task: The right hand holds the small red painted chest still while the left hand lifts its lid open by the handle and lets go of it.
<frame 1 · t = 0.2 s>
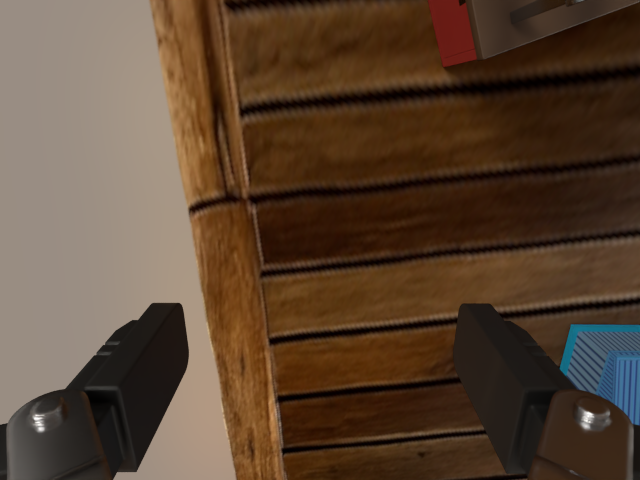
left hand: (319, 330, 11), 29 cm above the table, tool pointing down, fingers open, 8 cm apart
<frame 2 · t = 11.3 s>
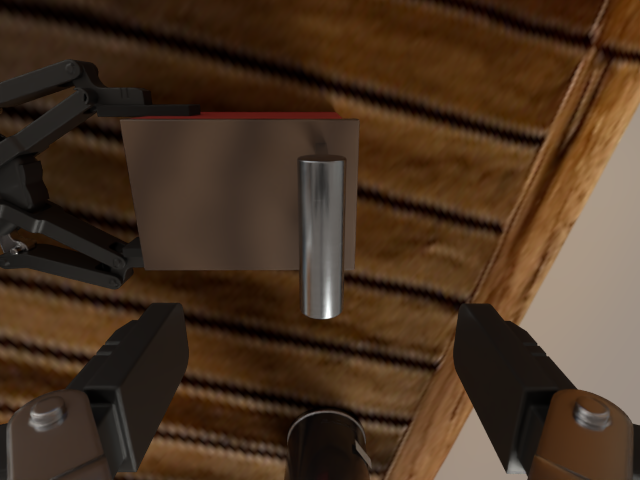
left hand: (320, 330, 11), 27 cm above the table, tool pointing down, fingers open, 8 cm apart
right hand: (202, 182, 31), fingers closed on chest, 10 cm apart
lid: (233, 216, 22), point 16 cm above the table, hinge at 0.0°
chest: (262, 168, 37), on the table, touching right hand
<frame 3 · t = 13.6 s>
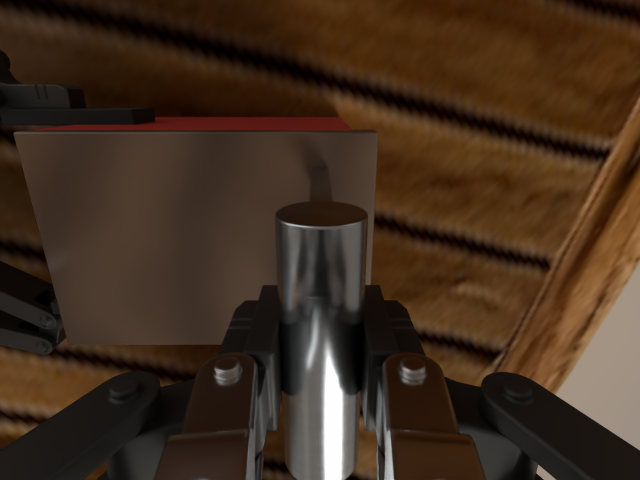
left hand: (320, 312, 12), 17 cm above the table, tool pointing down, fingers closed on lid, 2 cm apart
lid: (180, 286, 14), point 16 cm above the table, hinge at -0.1°, touching left hand
chest: (244, 189, 29), on the table, touching right hand
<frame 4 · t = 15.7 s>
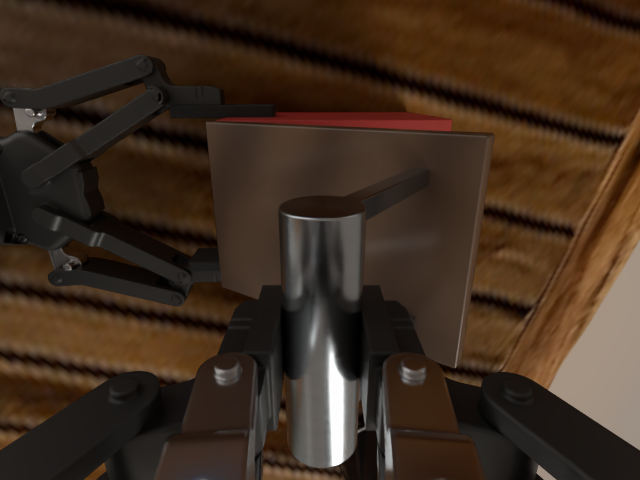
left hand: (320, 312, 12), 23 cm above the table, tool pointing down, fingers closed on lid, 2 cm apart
right hand: (277, 189, 28), fingers closed on chest, 10 cm apart
lid: (269, 256, 16), point 19 cm above the table, hinge at 34.8°, touching left hand
chest: (326, 172, 34), on the table, touching right hand
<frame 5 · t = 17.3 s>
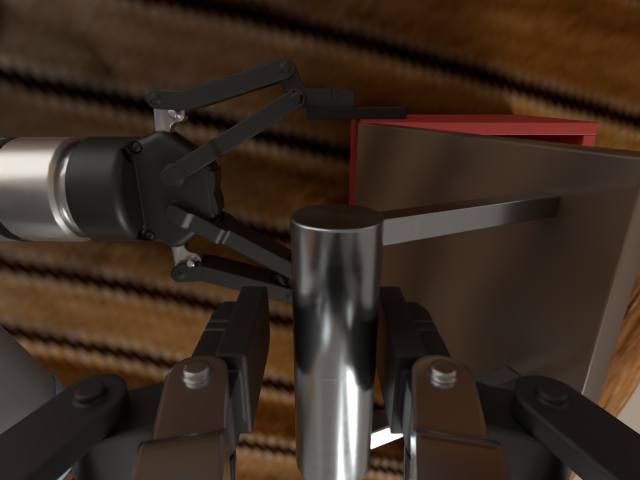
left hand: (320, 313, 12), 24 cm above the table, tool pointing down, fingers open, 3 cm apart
right hand: (397, 190, 29), fingers closed on chest, 10 cm apart
lid: (361, 262, 16), point 20 cm above the table, hinge at 66.0°
chest: (427, 174, 35), on the table, touching right hand
when the right hand's fingers open (6 cm above the table, at t = 21.2 s): chest stays where it is, on the table.
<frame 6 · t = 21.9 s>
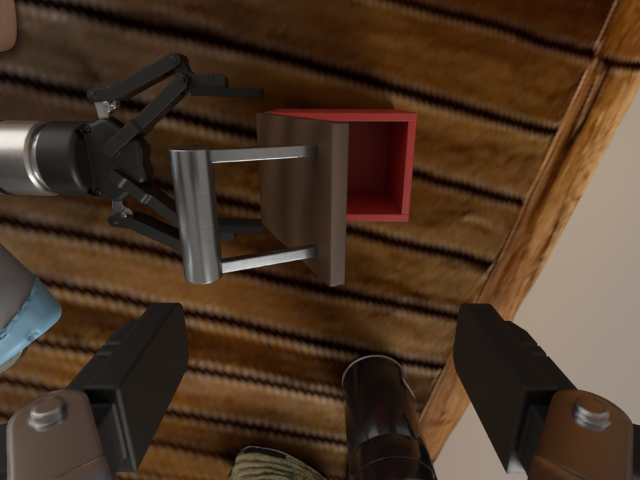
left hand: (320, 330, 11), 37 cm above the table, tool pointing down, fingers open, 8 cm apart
right hand: (264, 163, 41), fingers open, 13 cm apart
fossil: (288, 472, 64), on the table
lid: (239, 191, 28), point 20 cm above the table, hinge at 64.9°
chest: (334, 153, 47), on the table
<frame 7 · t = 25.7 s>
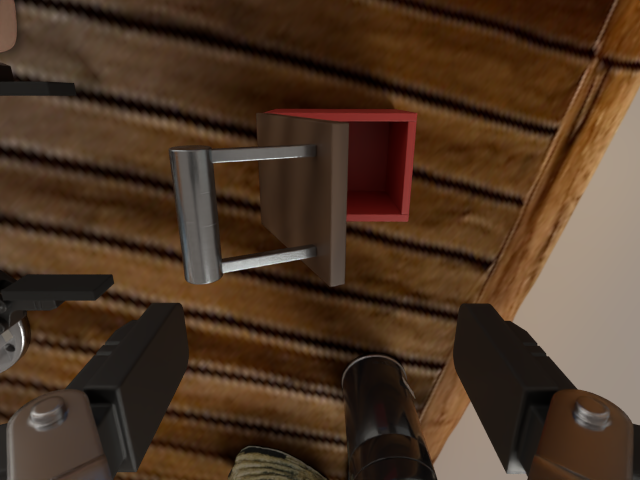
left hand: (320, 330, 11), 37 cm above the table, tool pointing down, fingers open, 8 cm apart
fossil: (288, 472, 64), on the table
lid: (239, 191, 28), point 20 cm above the table, hinge at 64.9°
chest: (334, 153, 47), on the table
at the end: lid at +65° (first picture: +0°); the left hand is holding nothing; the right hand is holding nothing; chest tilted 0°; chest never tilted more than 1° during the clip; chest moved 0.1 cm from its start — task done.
